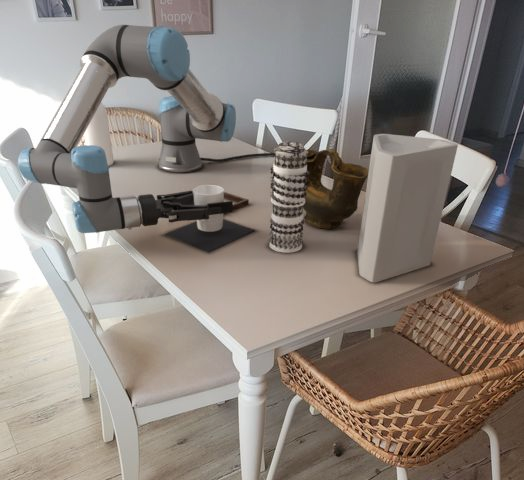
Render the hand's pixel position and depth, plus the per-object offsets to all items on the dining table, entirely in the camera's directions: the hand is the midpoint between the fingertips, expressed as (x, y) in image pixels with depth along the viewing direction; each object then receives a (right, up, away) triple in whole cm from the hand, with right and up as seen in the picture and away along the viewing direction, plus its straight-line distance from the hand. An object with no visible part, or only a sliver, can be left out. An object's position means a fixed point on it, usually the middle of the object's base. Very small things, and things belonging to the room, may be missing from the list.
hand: (226, 201), depth 134 cm
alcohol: (-49, +28, +51) cm, 76 cm away
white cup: (-5, -6, +2) cm, 8 cm away
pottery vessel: (+26, -3, +12) cm, 29 cm away
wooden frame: (-4, +5, +20) cm, 21 cm away
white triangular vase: (+39, -17, -8) cm, 43 cm away
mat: (-5, -8, +3) cm, 10 cm away
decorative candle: (+15, -12, -2) cm, 20 cm away
